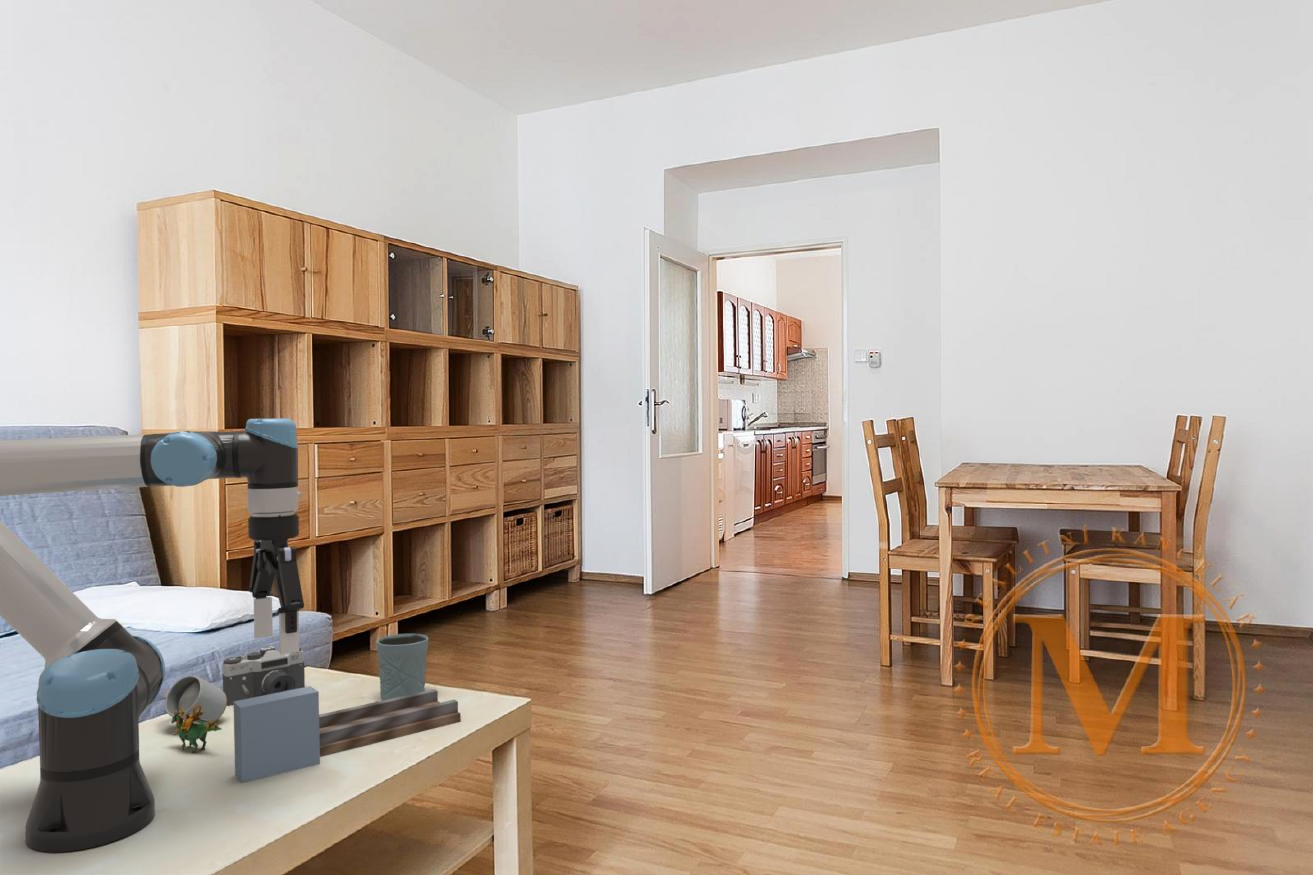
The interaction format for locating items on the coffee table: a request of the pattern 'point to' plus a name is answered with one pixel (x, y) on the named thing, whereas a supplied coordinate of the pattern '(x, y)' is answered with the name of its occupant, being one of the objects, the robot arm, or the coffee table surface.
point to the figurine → (193, 728)
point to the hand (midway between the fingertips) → (276, 644)
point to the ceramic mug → (195, 698)
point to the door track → (384, 721)
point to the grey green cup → (402, 664)
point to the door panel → (276, 733)
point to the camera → (262, 674)
